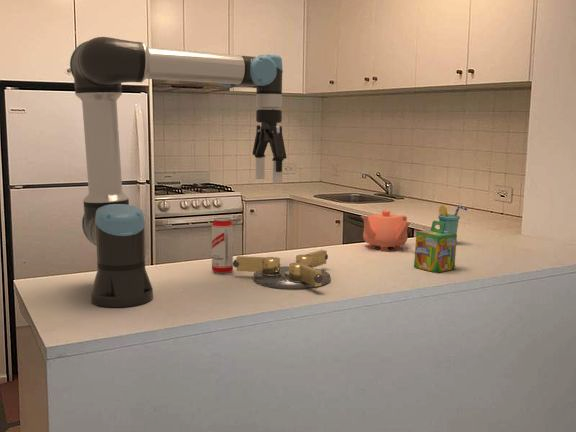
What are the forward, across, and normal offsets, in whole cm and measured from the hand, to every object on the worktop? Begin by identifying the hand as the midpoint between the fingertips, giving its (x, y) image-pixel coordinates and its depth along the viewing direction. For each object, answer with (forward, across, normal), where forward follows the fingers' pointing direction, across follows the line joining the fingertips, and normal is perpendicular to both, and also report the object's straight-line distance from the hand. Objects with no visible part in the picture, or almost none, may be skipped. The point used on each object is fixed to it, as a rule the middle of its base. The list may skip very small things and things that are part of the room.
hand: (268, 181), depth 191 cm
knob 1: (+25, -9, +7) cm, 28 cm away
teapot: (+27, +13, -50) cm, 59 cm away
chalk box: (+27, -19, -48) cm, 58 cm away
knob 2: (+25, -9, -11) cm, 29 cm away
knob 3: (+25, -25, -1) cm, 35 cm away
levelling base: (+27, -14, -2) cm, 31 cm away
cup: (+27, +10, -77) cm, 82 cm away
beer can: (+27, +1, +14) cm, 31 cm away
